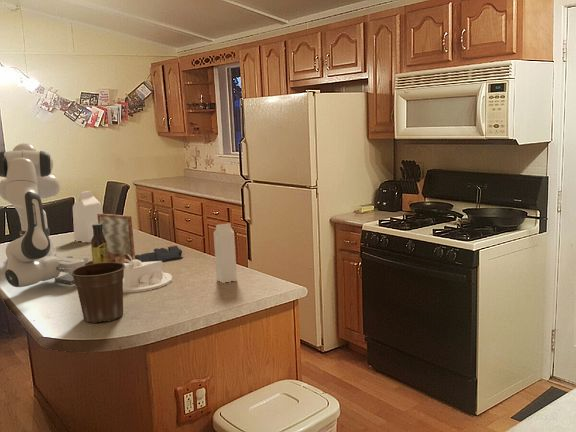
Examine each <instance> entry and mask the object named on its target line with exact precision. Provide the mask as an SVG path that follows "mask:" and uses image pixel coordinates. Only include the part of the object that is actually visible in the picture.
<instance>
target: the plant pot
mask: <svg viewBox="0 0 576 432" xmlns="http://www.w3.org/2000/svg"><path fill="white" fill-rule="evenodd" d="M124 268H125V265H124V264H122V263H117V262H104V263H95V264H89V265H85V266H81V267H78V268H76V269H74V270H73V271H71V275H72V276H73V278H74V282H75V283H74V285H75V286H76V290H77V294H78V299H79V304H80V308H81V312H82V318H83V320H84V322H86V321H87V322H86V323H89V322H91V323H90V324H98V323H97V322H100V323H101V322H105V321H108V322H110V321H109V320H112V321H114V320H113V319H115V320H117V319H116V318H118V317H119V318H121V317H122V316H123V315H124V293H123V278H124ZM120 316H121V317H120ZM119 318H118V319H119Z"/></svg>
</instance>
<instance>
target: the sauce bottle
mask: <svg viewBox="0 0 576 432" xmlns="http://www.w3.org/2000/svg"><path fill="white" fill-rule="evenodd" d="M102 227H103V226H102V224H93V225H92V228H93V235H94V236H93V238H92V240H91V242H90V243H91V258H92V260H93V264H95V263H104V262H108V252H107V242H106V240H105V238H104V235H103V231H102ZM92 260H91V261H92Z"/></svg>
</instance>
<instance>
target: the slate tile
mask: <svg viewBox="0 0 576 432" xmlns="http://www.w3.org/2000/svg"><path fill="white" fill-rule="evenodd" d="M54 282H58V283H64V284H69V285H72V284H75V282H74V278H73V276H72V275H71V273H66V274H64V275H59V276H58V277H56V278H54Z"/></svg>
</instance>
